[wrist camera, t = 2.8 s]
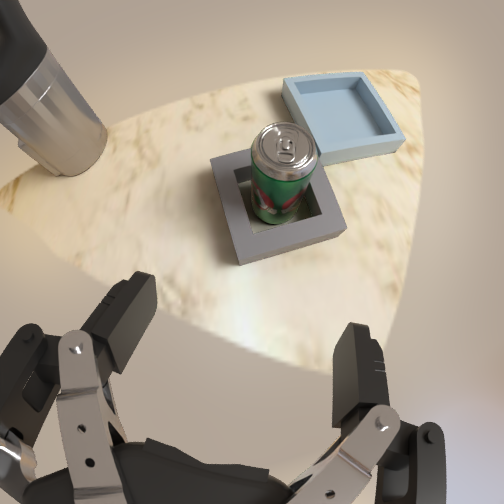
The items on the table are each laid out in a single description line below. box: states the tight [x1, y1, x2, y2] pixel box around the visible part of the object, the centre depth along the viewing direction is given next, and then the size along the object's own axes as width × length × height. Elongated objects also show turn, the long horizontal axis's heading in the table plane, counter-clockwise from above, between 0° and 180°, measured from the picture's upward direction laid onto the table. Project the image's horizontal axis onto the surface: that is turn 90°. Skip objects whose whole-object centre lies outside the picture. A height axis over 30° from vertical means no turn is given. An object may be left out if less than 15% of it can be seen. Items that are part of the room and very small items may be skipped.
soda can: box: [251, 122, 318, 224], centre depth 25 cm, size 5×5×12 cm
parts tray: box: [281, 72, 406, 166], centre depth 31 cm, size 12×12×4 cm
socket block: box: [210, 148, 347, 266], centre depth 29 cm, size 11×11×4 cm
